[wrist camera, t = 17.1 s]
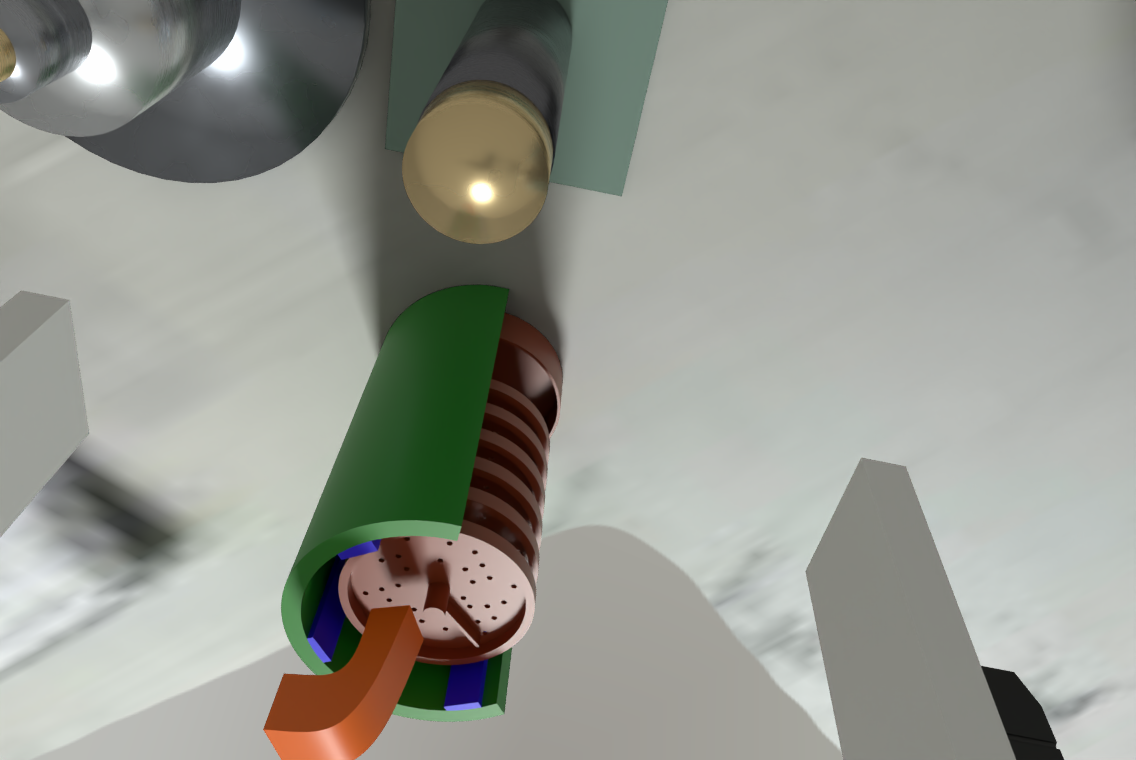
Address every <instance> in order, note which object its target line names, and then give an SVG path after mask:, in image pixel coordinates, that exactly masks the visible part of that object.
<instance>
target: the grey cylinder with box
mask: <svg viewBox="0 0 1136 760" xmlns="http://www.w3.org/2000/svg"><path fill="white" fill-rule="evenodd" d="M240 10H241V0H0V109H1V110H2V111H4V112H5V113H7V114H8V115H10V116H11V117H13V118H15V119H17V120H19V121H21V122H23V123H25V124H27V125H29V126H32V127H34V128H37V129H39V130H43V131H46V132H49V133H53V134H58V135H64V136H75V137H85V136H95V135H100V134H104V133H108V132H110V131H113V130H115V129H118V128H119V127H121V126H123V125H124V124H126V123H128V122H129V121H131V120H132V119H133V118H135V117H136V116H138V115H139V114H141V113H142V112H143V111H145V110H146V109H148V108H149V107H151V106H152V105H153V104H155V103H156V102H158V101H159V100H161V99H162V98H164V97H165V96H166V95H168V94H169V93H171V92H172V91H174V90H175V89H176V88H178V87H179V86H181V85H182V84H184V83H185V82H186V81H188V80H189V79H191V78H192V77H194V76H195V75H197V74H198V73H199V72H201V71H202V70H204V69H205V68H207V67H208V66H209V65H211V64H212V63H214V62H215V61H216V60H217V59H218V58H219V57H220V56H221V55H222V54H223V53H224V52H225V50H226V49H227V48H228V46H229V45H230V43H231V41H232V39H233V37H234V35H235V32H236V30H237V27H238V22H239V18H240Z"/></svg>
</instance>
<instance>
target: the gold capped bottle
mask: <svg viewBox="0 0 1136 760" xmlns="http://www.w3.org/2000/svg"><path fill="white" fill-rule="evenodd" d="M571 48H572V29H571V24H570V21H569V18H568V16H567V14H566V12H565V10H564V8H563V7H562V5H561V4H560V3H559V2H558V1H557V0H485V1H484V3H483V4H482V6H481V7H480V9H479V11H478V12H477V14H476V16H475V18H474V20H473V21H472V23H471V25H470V27H469V29H468V30H467V32H466V34H465V36H464V37H463V39H462V41H461V43H460V45H459V46H458V48H457V50H456V52H455V54H454V55H453V57H452V59H451V61H450V63H449V64H448V66H447V68H446V70H445V72H444V73H443V75H442V77H441V79H440V80H439V82H438V84H437V86H436V88H435V89H434V91H433V93H432V95H431V97H430V98H429V100H428V102H427V104H426V106H425V107H424V109H423V111H422V113H421V115H420V117H419V120H418V123H417V126H416V128H415V130H414V131H413V133H412V135H411V137H410V139H409V141H408V143H407V145H406V148H405V151H404V156H403V162H402V175H403V182H404V186H405V190H406V192H407V195H408V197H409V199H410V201H411V203H412V205H413V207H414V208H415V210H416V211H417V213H418V214H419V215H420V216H421V217H422V218H423V219H424V220H425V221H426V222H427V223H428V224H429V225H430V226H431V227H433V228H434V229H436V230H437V231H438V232H440V233H442V234H444V235H445V236H448V237H450V238H452V239H455V240H458V241H462V242H467V243H472V244H488V243H495V242H500V241H503V240H506V239H509V238H511V237H513V236H515V235H517V234H518V233H520V232H521V231H523V230H524V229H525V228H526V227H528V226H529V225H530V224H531V223H532V222H533V220H534V219H535V218H536V217H537V215H538V214H539V212H540V211H541V208H542V206H543V204H544V202H545V199H546V195H547V190H548V184H549V178H550V174H551V171H552V168H553V164H554V158H555V152H556V145H557V139H558V132H559V126H560V119H561V113H562V106H563V100H564V93H565V87H566V80H567V74H568V67H569V61H570V54H571Z"/></svg>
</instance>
